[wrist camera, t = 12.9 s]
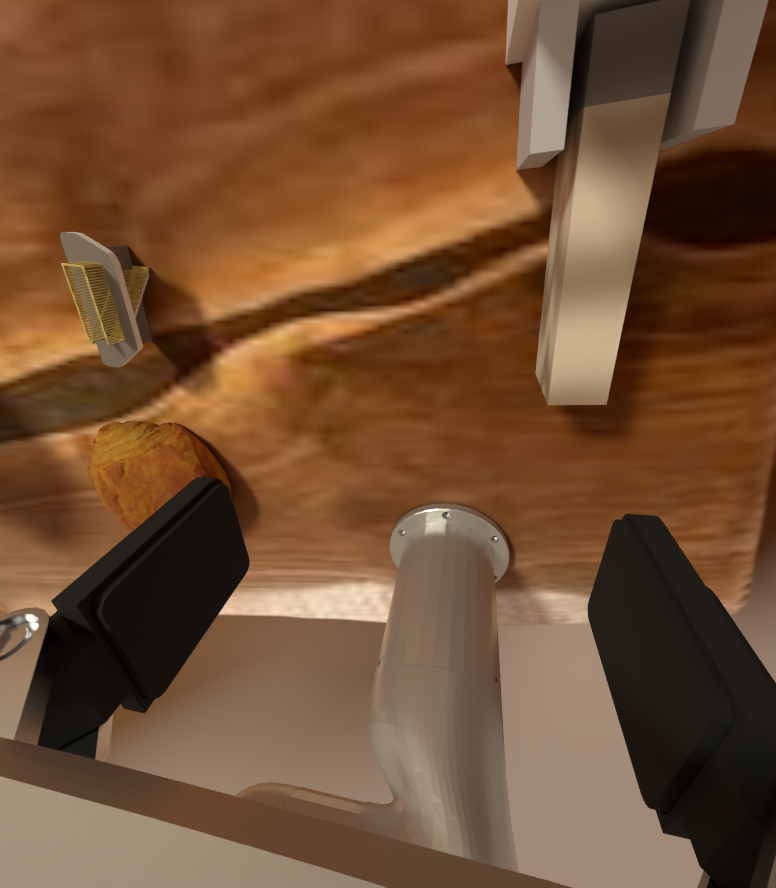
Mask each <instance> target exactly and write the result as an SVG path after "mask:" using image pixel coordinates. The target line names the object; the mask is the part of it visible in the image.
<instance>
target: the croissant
mask: <svg viewBox="0 0 776 888" xmlns="http://www.w3.org/2000/svg"><path fill="white" fill-rule="evenodd" d="M89 460H90V463H89V466H88V468H87V473H88V475H89V477H90V479H91V480H92V482H93V484H94V487H95V489H96V491H97V493H98V495H99V497H100V499H101V501H102V502H103V504H104V505H105V506H106V507H107V508H108V509H109V510H110V511H111V512H112V513H113V514H114V515H115V517H116V518H117V519H118V520H119V522H121V523H122V524H123V525H124V526H126V527H127V528H128V529H129V530H131V531H134V530H135V529H136V528H137V527H138V526H139V525H141V524H142V523H143V522H144V521H145V520H146V519H148V518H149V517H150V516H151V515H152V514H153V513H155V512H156V511H157V510H158V509H159V508H161V507H162V506H163V505H164V504H165V503H166V502H168V501H169V500H170V499H171V498H172V497H173V496H175V495H176V494H177V493H178V492H179V491H180V490H182V489H183V488H184V487H185V486H186V485H187V484H189V483H190V482H191V481H192V480H193V479H195V478H197V477H205V478H217V479H220V480H221V481H222V482H223V483H224V485H226V486H227V487H228V489H229V491H230V495H231V498H232V494H231V485H230V483H229V481H228V478H227V475H226V473H225V471H224V469H223V468H222V467H221V465H220V464H219V462H218V461H217V459H216V457H215V456H214V455H213V454H212V453H211V452H210V451H209V449H208V448H207V447H206V446H205V445H204V444H203V443H202V442H201V441H200V440H199V439H197V438H196V437H195V436H193V435H192V434H191V433H189V432H188V431H187V430H186V429H184V428H183V427H182V426H180V425H179V424H176V423H174V424H171V423H169V422H168V423H166V424H165V423H164V424H161V425H160V426H159V427H157V426H156V425H154V424H153V423H149V422H141V421H133V420H132V421H127V422H124V423H119V422H113V423H110V424H107V425H104V426H103V427H102V428H100V429H99V431H98V433H97V436H96V439H95V440H94V441H93V447H92V453H91V455H90V457H89Z"/></svg>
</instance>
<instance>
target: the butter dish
mask: <svg viewBox="0 0 776 888" xmlns="http://www.w3.org/2000/svg"><path fill="white" fill-rule="evenodd" d="M60 239H61V242H62V245H63V248H64V251H65V254H66V257H67V259H68V262H69V263H61V264H62V267H63V270H64V273H65V276H66V279H67V281H68V284H69V287H70V290H71V293H72V296H73V298H74V301H75V304H76V307H77V310H78V313H79V315H80V318H81V321H82V324H83V327H84V329H85V332H86V335H87V338H88V341H89V344H94V343H96V344H97V347H98V350H99V352H100V355H101V358H102V361H103V362H104V363H105V364H106V365H107V366H112V367H122V366H124V365H126V364H127V363H128V362H129V361H130V360H131V359H132V358H133V357H134V356H135V355H136V354H137V353H138V352H139V351H140V350H141V349H142V348H143V344H144V343H147V342H150V341H152V337H151V333H150V329H149V325H148V321H147V318H146V314H145V310H144V306H143V302H142V297H143V293H144V290H145V287H146V284H147V281H148V278H149V272H148V271H150V270H148V268H150V267H142V266H133V265H132V261H131V257H130V253H129V249H128V246H127V245H120V246H107V247H104V246H102V245H101V244H99V243H97V242H96V241H94V240H92V239H91V238H89V237H88V236H86V235H84V234H82V233H76V232H62V233H61V234H60ZM64 266H70V267H69V268H65V267H64ZM70 268H71V270H70V271H66V270H65V269H70ZM71 271H72V273H70V274H67V273H66V272H71ZM71 274H73V276H70V277H68V276H67V275H71ZM72 277H74V279H71V280H69V278H72ZM72 280H75V282H71V283H70V281H72ZM72 283H76V285H71V284H72ZM72 286H77V288H72ZM72 289H78V290H77V291H73V290H72ZM78 291H79V293H76V294H74V293H73V292H78ZM78 294H80V296H76V297H75V296H74V295H78ZM77 297H81V299H76V298H77ZM77 300H82V301H80V302H77ZM77 303H83V304H80V305H78V304H77ZM81 305H83V306H84V307H78V306H81ZM81 308H84V309H83V310H79V309H81ZM80 311H85V312H83V313H80ZM84 313H86V315H81V314H84ZM83 316H87V317H86V318H82V317H83ZM87 318H88V320H85V321H83V319H87ZM86 321H89V322H88V323H84V322H86ZM89 323H90V325H87V326H85V324H89ZM88 326H91V327H90V328H86V327H88ZM88 329H92V330H89V331H87V330H88ZM90 331H92V333H87V332H90ZM89 334H93V335H91V336H89ZM92 336H93V338H89V337H92ZM91 339H92V341H90V340H91Z"/></svg>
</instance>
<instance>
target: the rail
mask: <svg viewBox="0 0 776 888" xmlns="http://www.w3.org/2000/svg"><path fill="white" fill-rule="evenodd" d="M689 4H690V0H660V1H655V2H650V3H646V4H641V5H636V6H632V7H627V8H622V9H618V10H613V11H608V12H604V13H599V14H596V15H595V16H594V18H593V20H592V22H591V23H590V25H589V27H588V28H587V30H586V32H585V34H584V35H583V37H582V39H581V40H580V42H579V44H578V46H577V47H576V49H575V51H574V59H573V68H572V78H571V87H570V97H569V106H568V116H567V125H566V135H565V144H564V150H562V151H561V152H560V153H558V156H557V166H556V176H555V186H554V196H553V206H552V216H551V226H550V236H549V246H548V256H547V266H546V276H545V285H544V295H543V305H542V315H541V325H540V335H539V345H538V355H537V365H536V376H537V379H538V381H539V384H540V386H541V389H542V391H543V394H544V397H545V399H546V402H547V404H548V405H607V400H608V395H609V390H610V385H611V381H612V376H613V371H614V366H615V361H616V356H617V352H618V347H619V342H620V337H621V332H622V327H623V323H624V318H625V313H626V308H627V303H628V299H629V294H630V289H631V284H632V279H633V274H634V270H635V265H636V260H637V255H638V250H639V245H640V241H641V236H642V231H643V226H644V221H645V216H646V212H647V207H648V202H649V197H650V192H651V187H652V183H653V178H654V173H655V168H656V163H657V158H658V154H659V149H660V144H661V139H662V134H663V129H664V125H665V120H666V115H667V110H668V105H669V100H670V96H671V91H672V86H673V81H674V76H675V71H676V67H677V62H678V57H679V52H680V47H681V42H682V38H683V33H684V28H685V23H686V18H687V13H688V9H689Z"/></svg>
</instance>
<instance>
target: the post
mask: <svg viewBox="0 0 776 888" xmlns="http://www.w3.org/2000/svg"><path fill="white" fill-rule="evenodd" d="M655 1H660V0H508V18H507V43H506V65H509V64H514V63H519V62H522V76H521V94H520V111H519V129H518V147H517V165H516V170H523V169H530V168H537V167H542V166H543V165H545V164H546V163H547V162H548V161H550V160H551V159H552V158H553V157H555V156H556V155H557V154H558V153H560V152H561V151H562V150H564V144H565V135H566V125H567V116H568V106H569V97H570V87H571V78H572V68H573V59H574V51H575V49H576V47H577V46H578V44H579V42H580V40H581V39H582V37H583V35H584V34H585V32H586V30H587V28H588V27H589V25H590V23H591V22H592V20H593V18H594V16H595V15H596V14H599V13H604V12H608V11H613V10H618V9H622V8H627V7H632V6H636V5H641V4H646V3H650V2H655ZM768 1H769V0H690V4H689V9H688V13H687V18H686V23H685V28H684V33H683V38H682V42H681V47H680V52H679V57H678V62H677V67H676V71H675V76H674V81H673V86H672V91H671V96H670V100H669V105H668V110H667V115H666V120H665V125H664V129H663V134H662V139H661V144H660V149H659V150H665V149H668V148H671V147H673V146H676V145H679V144H681V143H684V142H687V141H690V140H692V139H695V138H698V137H700V136H703V135H706V134H709V133H711V132H714V131H717V130H719V129H722V128H725V127H728V126H730V125H733V124H734V123H735V120H736V116H737V113H738V109H739V105H740V102H741V98H742V95H743V91H744V87H745V84H746V80H747V76H748V73H749V69H750V66H751V62H752V58H753V55H754V51H755V48H756V44H757V40H758V37H759V33H760V29H761V26H762V22H763V19H764V15H765V11H766V8H767V4H768Z"/></svg>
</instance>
